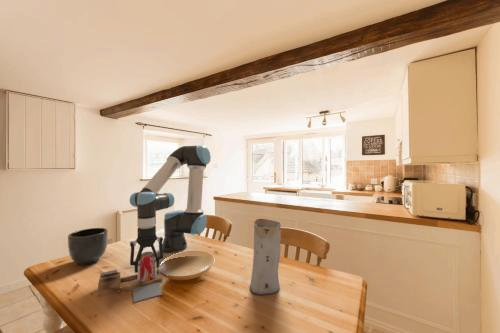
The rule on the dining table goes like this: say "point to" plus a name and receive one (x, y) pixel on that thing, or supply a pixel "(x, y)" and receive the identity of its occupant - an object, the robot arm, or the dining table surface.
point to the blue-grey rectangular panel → (109, 273)
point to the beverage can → (147, 266)
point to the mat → (146, 292)
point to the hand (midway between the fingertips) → (147, 276)
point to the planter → (87, 245)
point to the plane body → (113, 284)
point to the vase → (266, 257)
